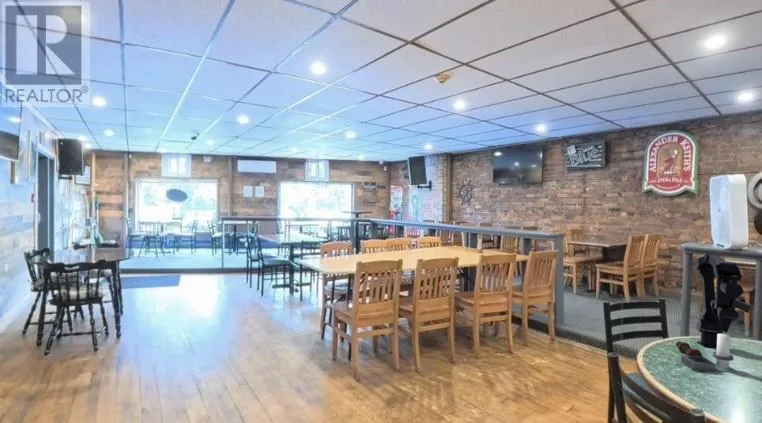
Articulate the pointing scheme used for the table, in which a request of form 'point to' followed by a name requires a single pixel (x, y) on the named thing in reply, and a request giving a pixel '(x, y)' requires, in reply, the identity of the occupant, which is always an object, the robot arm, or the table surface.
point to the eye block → (698, 363)
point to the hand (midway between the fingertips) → (723, 328)
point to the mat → (725, 369)
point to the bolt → (687, 349)
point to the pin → (723, 351)
